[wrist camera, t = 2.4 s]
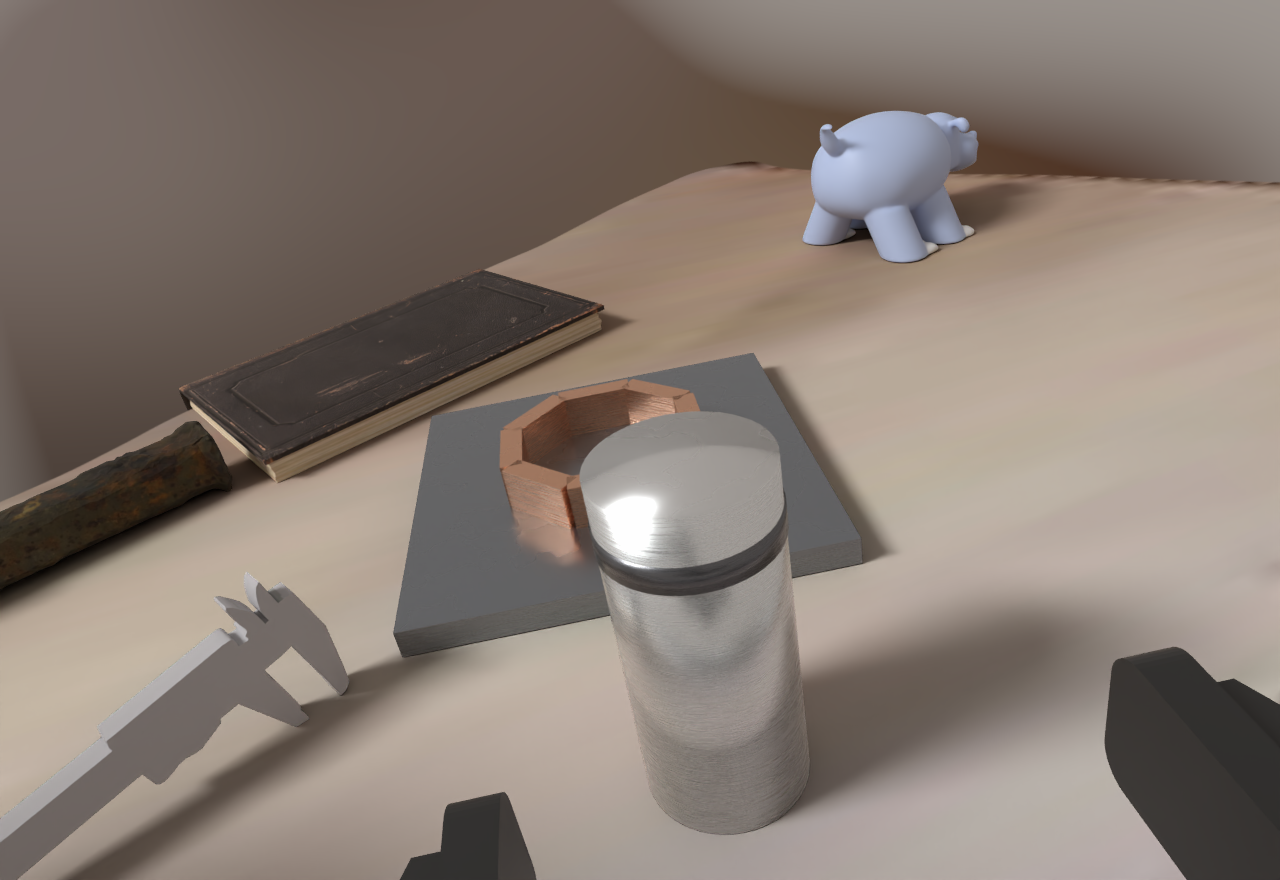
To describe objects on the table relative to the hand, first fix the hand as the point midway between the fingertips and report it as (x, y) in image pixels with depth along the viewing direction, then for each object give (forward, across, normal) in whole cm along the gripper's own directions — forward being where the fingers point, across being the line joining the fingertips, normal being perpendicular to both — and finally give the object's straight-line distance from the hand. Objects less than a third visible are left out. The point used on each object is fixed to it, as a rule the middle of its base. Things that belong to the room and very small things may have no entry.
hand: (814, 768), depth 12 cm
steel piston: (+12, 0, +13) cm, 17 cm away
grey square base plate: (+28, +2, +12) cm, 31 cm away
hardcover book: (+48, +15, +13) cm, 52 cm away
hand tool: (+31, +30, +12) cm, 45 cm away
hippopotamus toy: (+56, -22, +13) cm, 61 cm away
